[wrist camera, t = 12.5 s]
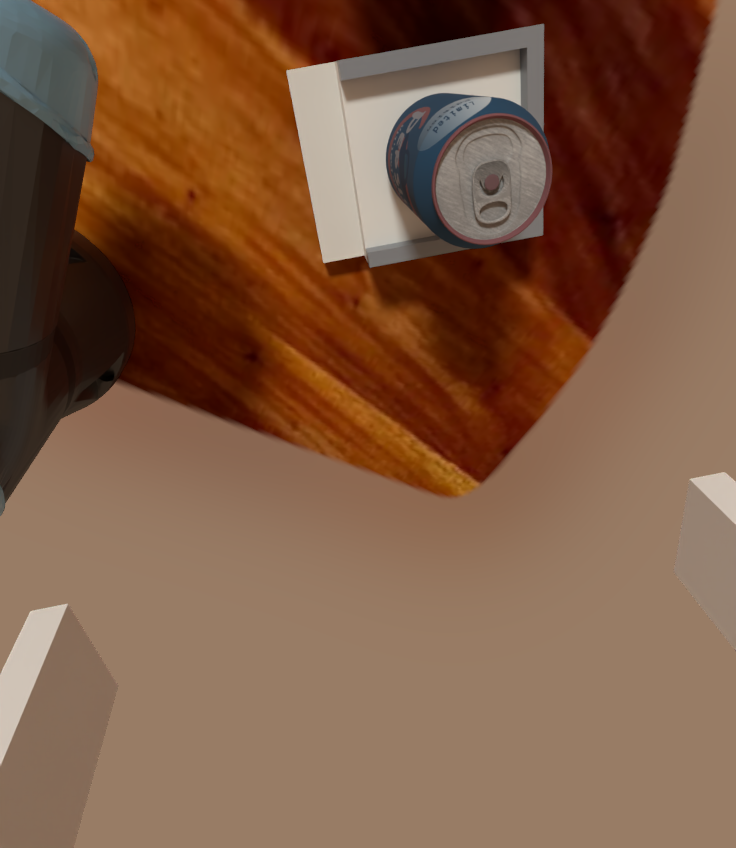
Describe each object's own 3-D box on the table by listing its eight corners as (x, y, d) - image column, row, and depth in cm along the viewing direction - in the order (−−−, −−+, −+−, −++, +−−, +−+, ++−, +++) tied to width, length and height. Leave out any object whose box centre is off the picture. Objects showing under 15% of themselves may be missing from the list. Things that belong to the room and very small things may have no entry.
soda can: (373, 105, 36) (409, 115, 25) (484, 81, 36) (565, 82, 25) (391, 221, 39) (429, 271, 29) (492, 199, 39) (565, 241, 29)
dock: (322, 257, 43) (326, 275, 39) (286, 70, 37) (286, 69, 33) (519, 220, 44) (542, 235, 40) (516, 29, 37) (544, 23, 33)
